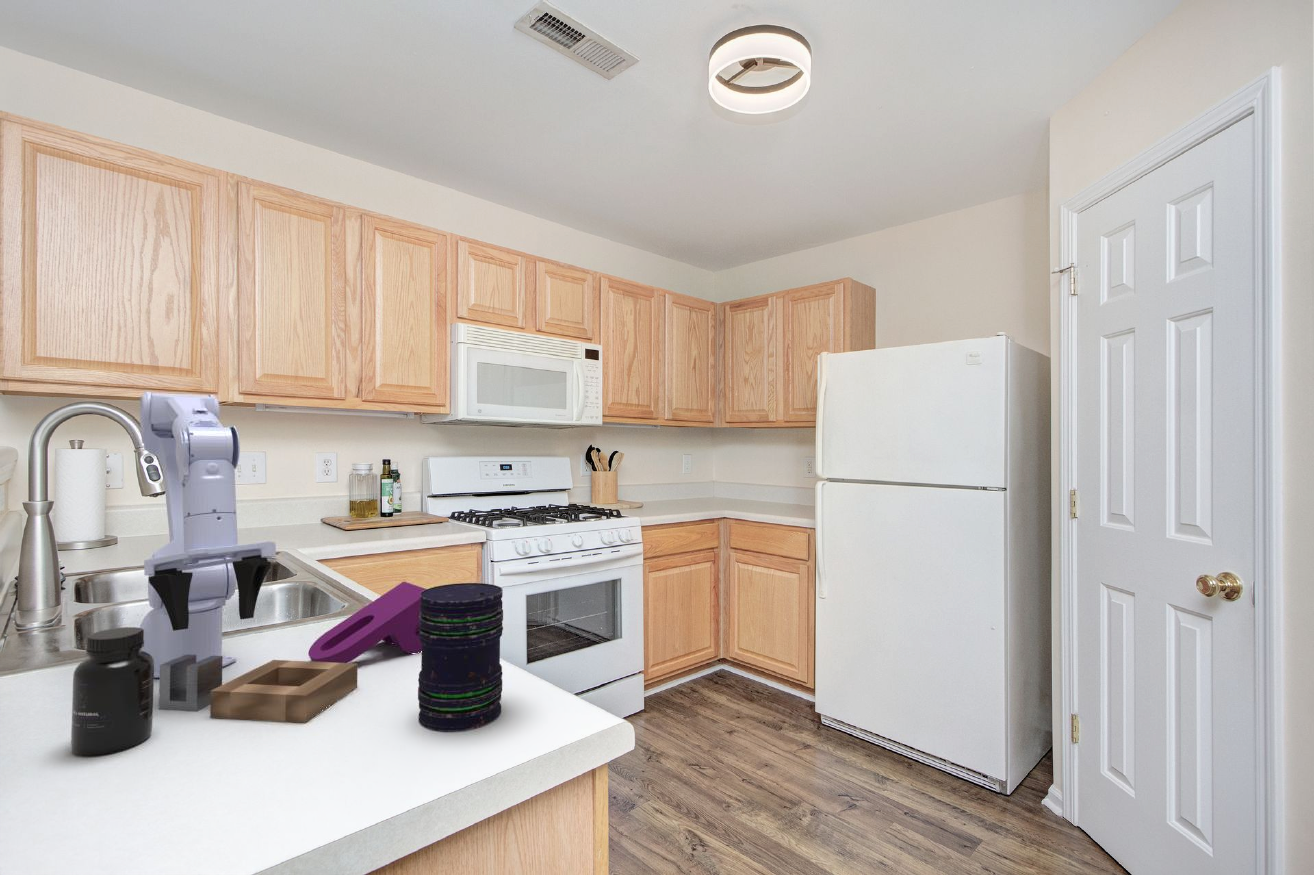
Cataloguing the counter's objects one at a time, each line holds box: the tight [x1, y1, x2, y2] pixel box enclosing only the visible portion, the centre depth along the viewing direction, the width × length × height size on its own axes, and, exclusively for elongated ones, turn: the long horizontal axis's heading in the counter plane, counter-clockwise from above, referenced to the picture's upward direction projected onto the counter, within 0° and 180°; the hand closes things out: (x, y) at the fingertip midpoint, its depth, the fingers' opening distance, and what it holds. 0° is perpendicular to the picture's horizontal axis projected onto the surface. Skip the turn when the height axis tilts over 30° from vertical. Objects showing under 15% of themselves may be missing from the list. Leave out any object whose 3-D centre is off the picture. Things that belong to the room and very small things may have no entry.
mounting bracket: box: [307, 581, 427, 663], centre depth 101 cm, size 10×8×18 cm
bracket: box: [158, 654, 224, 713], centre depth 81 cm, size 5×4×6 cm
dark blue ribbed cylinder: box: [417, 582, 504, 733], centre depth 79 cm, size 10×10×15 cm
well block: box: [209, 659, 359, 724], centre depth 82 cm, size 12×11×3 cm
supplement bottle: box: [70, 626, 155, 757], centre depth 71 cm, size 7×7×12 cm
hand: (214, 624), depth 81 cm, fingers open, 7 cm apart
